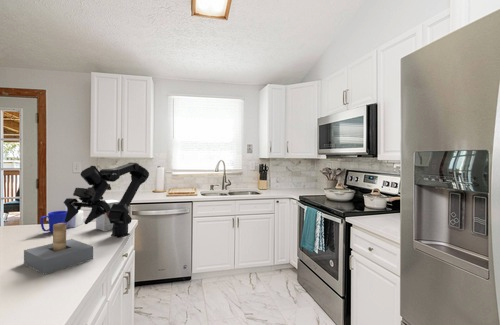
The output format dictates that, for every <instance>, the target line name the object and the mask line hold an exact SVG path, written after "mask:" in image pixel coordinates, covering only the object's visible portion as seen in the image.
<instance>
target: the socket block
mask: <svg viewBox="0 0 500 325" xmlns="http://www.w3.org/2000/svg"><path fill="white" fill-rule="evenodd" d="M91 260H94V246H93V245H90V244H87V243H85V242H82V241H79V240H76V239H74V238H70V239H66V249H64V250H60V251H56V252H54V251H53V242H52V243H48V244H43V245H41V246H40V245H39V246H36V247H32V248H27V249H24V250H23V264H24V265H26V266H28V267H29V268H31V269H33V270H35V271H37V272H39V273H41V274H43V275H47V274H51V273H55V272H58V271H60V270H62V269H66V268H69V267H73V266H75V265H79V264H81V263H82V264H83V263H84V262H87V261H88V262H89V261H91Z"/></svg>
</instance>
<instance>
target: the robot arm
mask: <svg viewBox="0 0 500 325" xmlns="http://www.w3.org/2000/svg"><path fill="white" fill-rule="evenodd" d="M127 174H129V175H130V178H131V180H130V183H129V185H128V186H127V188H126V190H125V192H124V193H123V195H122V197H121V198H120V200H119V201H120V202H119V203H118V204H113V205H112V207H111V209H110V206H109V205H108V203H107V202H106V201H105V200H104V194H105V193H106V192H107V191H111V190H112V187H111V183H113V182H116V181H117V180H119V179H120V177H121V176H124V175H127ZM149 176H150V172H149V171H148V169H146V167H144V166H142V165H140V164H139V163H137V162H128V163H126V164H122V165H120V166H117V167H114V168H102V169H100V170H98V167H97V166H96V165H90V166H89V167H87V168H85V169H82V171H81V172H80V177H81V178H82V179H83V180H84V181H85V182H86V183H87V185H89V187H87V188H84V187H75V189H74V191H73V193H72V196H74V197H78V200H77V198H72V197H68V198H66V199H65V200H64V201H63V204H64V205H65V207H66V206H67V214H66V218H65V222H66V223H67V222H68V221H70V220H71V219H72V218H73V217H74V216H75V215H76V214H77V213H78V212H79V211H81V209H82V208H90V209H91V210H90V212H89V214H88V215H87V217H86V219H85V220H84V221H83V224H84V225H88V224H90V223H91V222H92V221H94V220H96V218H97V217H99V216H101V215H103V214H105V213H108V212H109V211H110V212H109V214H108V217H109V221H110V223H111V224H112V223H113V227H112V230H111V234H110V236H111V237H115V238H117V239H118V238H123V237H126V236H129V235H130V234H131V233H129V225H130V224H131V223H132V217H131V216H130V215H129V214H130V209H129V207H130V205H131V202H132V201H133V200H134V198H135V196H136V194H137V192H138V190H139V188H140V186H141V185H142V184H144V183H145V182H146V181H147V180H148V178H149ZM90 186H91V187H90ZM79 200H80V201H79ZM78 210H79V211H78Z"/></svg>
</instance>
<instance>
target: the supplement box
mask: <svg viewBox="0 0 500 325" xmlns="http://www.w3.org/2000/svg"><path fill="white" fill-rule="evenodd" d="M105 201H106V202H107V203H108V205H109V206H110V209H111V207H112V205H113V204H118V203H119V202H120V200H115V199H106V200H105ZM109 212H110V211H109ZM109 212H108V213H105V214H103V215H101V216H99V217H97V218H96V219H95V229H97V230H99V231H103V232H107V231H112V227H113V223H112V224H111V223H110V221H109V217H108V214H109Z"/></svg>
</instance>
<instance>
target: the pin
mask: <svg viewBox="0 0 500 325" xmlns="http://www.w3.org/2000/svg"><path fill="white" fill-rule="evenodd" d="M66 240H67V227H66V223H58V224H54V225H53V233H52V243H53V251H54V252H56V251H60V250H64V249H66Z"/></svg>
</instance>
